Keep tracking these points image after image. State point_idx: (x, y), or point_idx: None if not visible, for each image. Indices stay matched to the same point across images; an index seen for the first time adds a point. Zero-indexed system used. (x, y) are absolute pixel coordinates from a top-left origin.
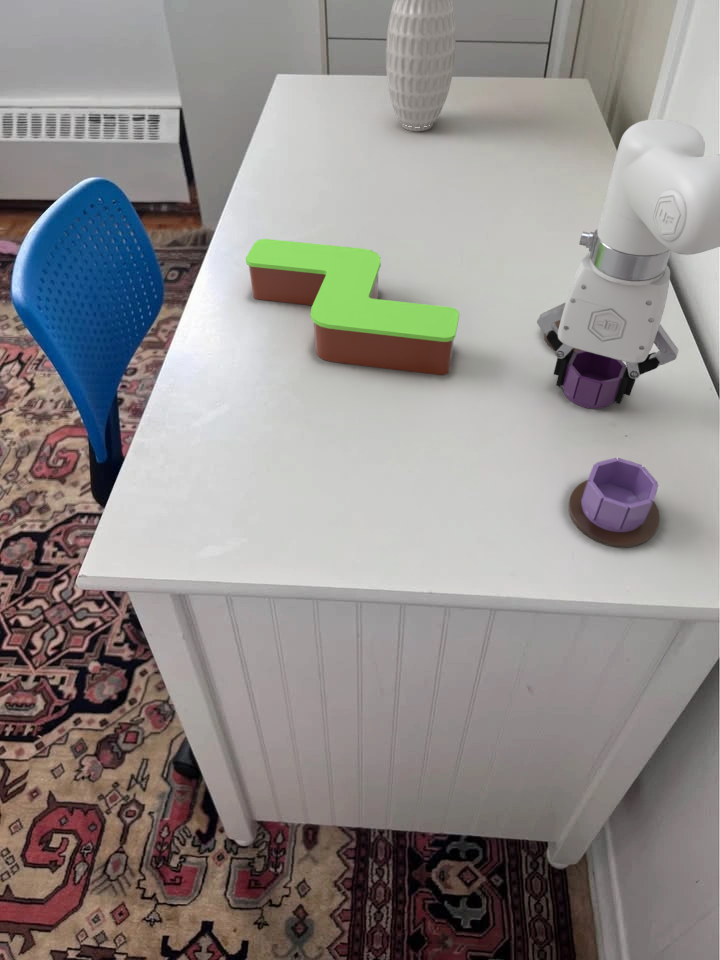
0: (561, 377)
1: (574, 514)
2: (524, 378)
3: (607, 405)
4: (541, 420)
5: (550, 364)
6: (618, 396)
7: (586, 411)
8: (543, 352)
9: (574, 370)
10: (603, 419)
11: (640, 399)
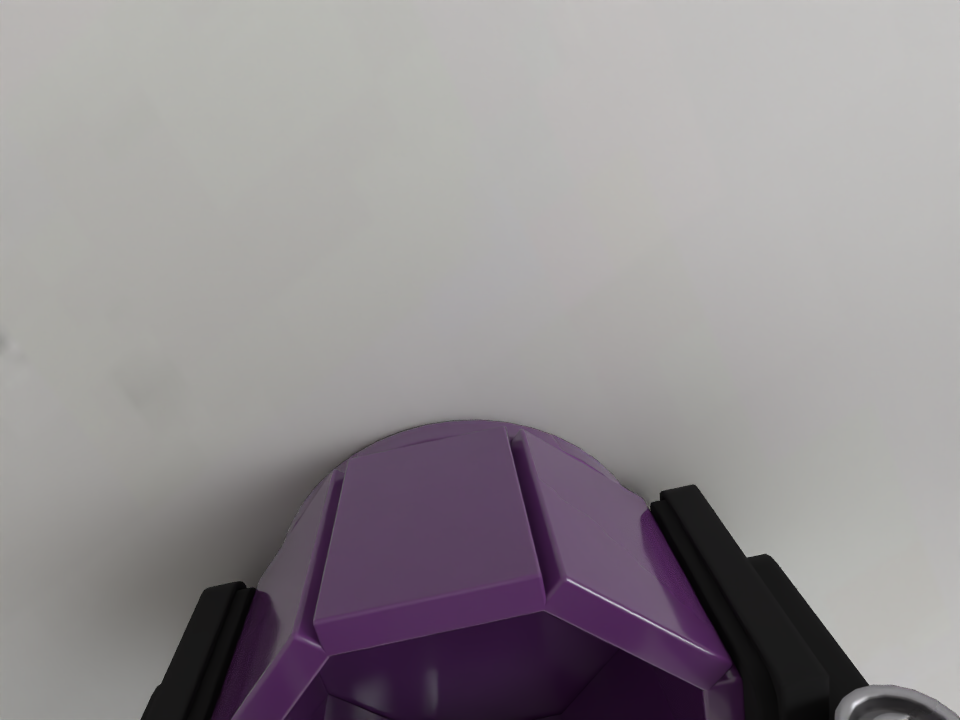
0: (701, 541)
1: None
2: (911, 437)
3: (287, 533)
4: (626, 77)
5: None
6: (214, 626)
7: (381, 400)
8: None
9: (644, 635)
10: (234, 399)
11: None
